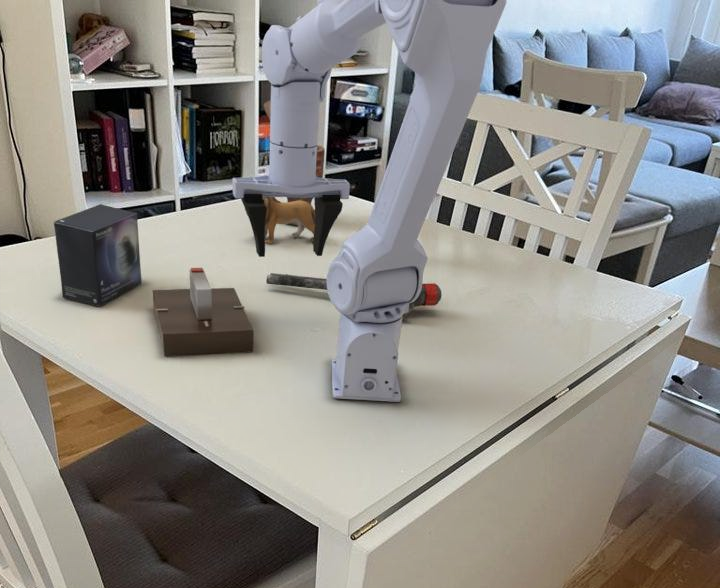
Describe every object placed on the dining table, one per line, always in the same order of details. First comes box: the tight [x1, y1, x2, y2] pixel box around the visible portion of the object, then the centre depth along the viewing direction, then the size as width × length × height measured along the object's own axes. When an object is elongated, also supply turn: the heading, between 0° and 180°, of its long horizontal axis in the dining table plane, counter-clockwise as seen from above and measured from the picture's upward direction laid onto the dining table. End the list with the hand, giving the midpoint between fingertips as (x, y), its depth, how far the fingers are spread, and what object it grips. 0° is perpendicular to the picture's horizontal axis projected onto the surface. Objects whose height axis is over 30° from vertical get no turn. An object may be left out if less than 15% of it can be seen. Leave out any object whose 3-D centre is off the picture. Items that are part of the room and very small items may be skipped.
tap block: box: [151, 287, 255, 357], centre depth 98 cm, size 14×11×3 cm
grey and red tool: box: [266, 272, 443, 320], centre depth 113 cm, size 6×26×15 cm
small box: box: [53, 203, 142, 307], centre depth 104 cm, size 11×6×10 cm, turn 161°
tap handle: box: [188, 267, 212, 320], centre depth 96 cm, size 7×2×4 cm, turn 18°
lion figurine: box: [244, 197, 315, 245], centre depth 129 cm, size 15×5×9 cm, turn 118°
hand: (289, 253), depth 99 cm, fingers open, 7 cm apart
